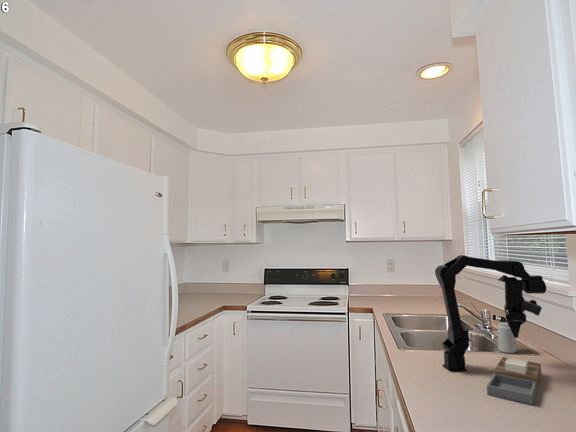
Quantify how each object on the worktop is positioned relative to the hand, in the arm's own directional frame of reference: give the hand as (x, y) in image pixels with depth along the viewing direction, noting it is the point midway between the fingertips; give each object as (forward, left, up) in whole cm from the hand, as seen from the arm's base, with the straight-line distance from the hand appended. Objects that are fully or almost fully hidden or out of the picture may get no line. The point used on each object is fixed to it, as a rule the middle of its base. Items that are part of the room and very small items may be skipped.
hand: (515, 334), depth 134 cm
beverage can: (+9, +18, -13) cm, 24 cm away
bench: (-6, -8, -13) cm, 16 cm away
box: (-16, -18, -13) cm, 27 cm away
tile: (-8, -10, -9) cm, 15 cm away
